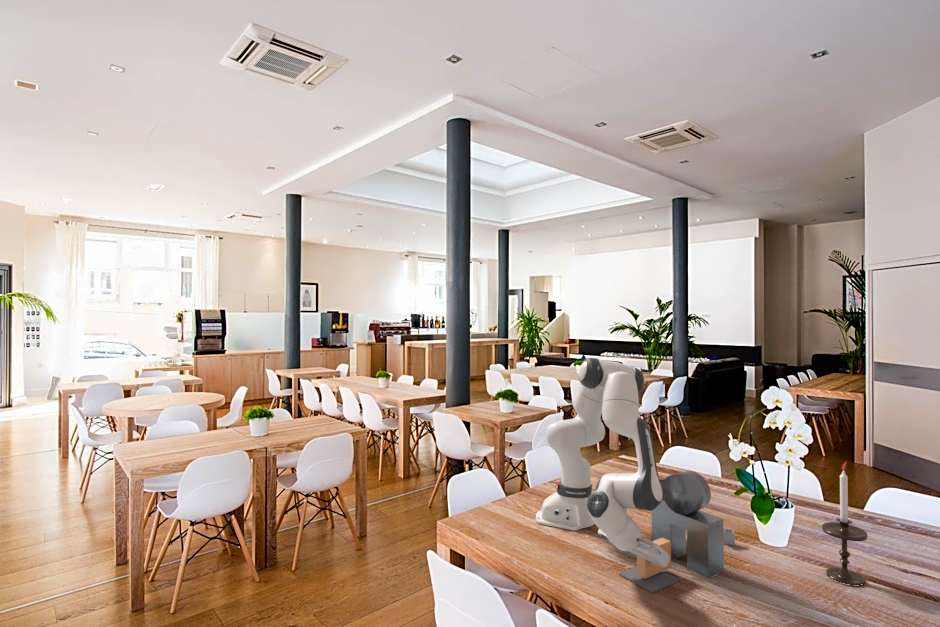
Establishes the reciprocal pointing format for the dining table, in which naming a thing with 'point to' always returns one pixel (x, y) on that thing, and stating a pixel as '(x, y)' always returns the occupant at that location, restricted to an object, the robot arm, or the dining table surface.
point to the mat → (649, 579)
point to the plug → (649, 569)
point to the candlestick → (844, 537)
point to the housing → (690, 523)
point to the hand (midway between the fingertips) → (647, 558)
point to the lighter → (729, 536)
